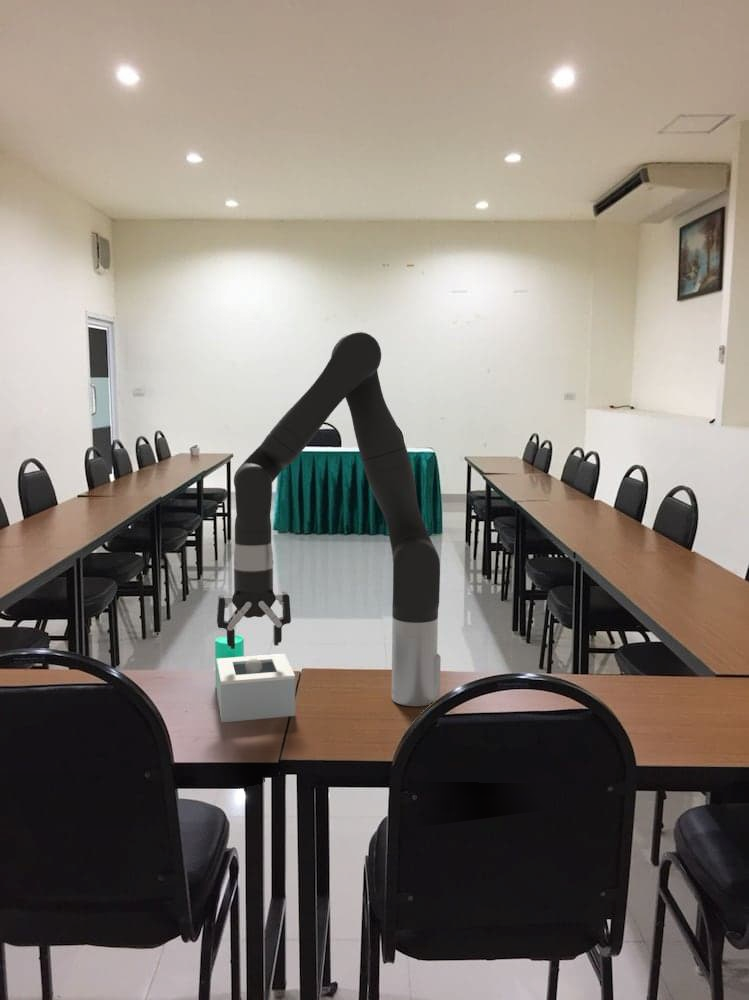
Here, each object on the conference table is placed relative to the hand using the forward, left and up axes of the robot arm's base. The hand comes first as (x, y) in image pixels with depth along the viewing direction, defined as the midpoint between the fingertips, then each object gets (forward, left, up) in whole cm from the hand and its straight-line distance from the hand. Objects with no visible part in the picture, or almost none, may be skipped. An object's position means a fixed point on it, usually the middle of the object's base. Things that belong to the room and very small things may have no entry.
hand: (254, 646), depth 153 cm
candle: (+4, -12, -12) cm, 18 cm away
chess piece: (0, 0, -12) cm, 12 cm away
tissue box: (0, 0, -12) cm, 12 cm away
